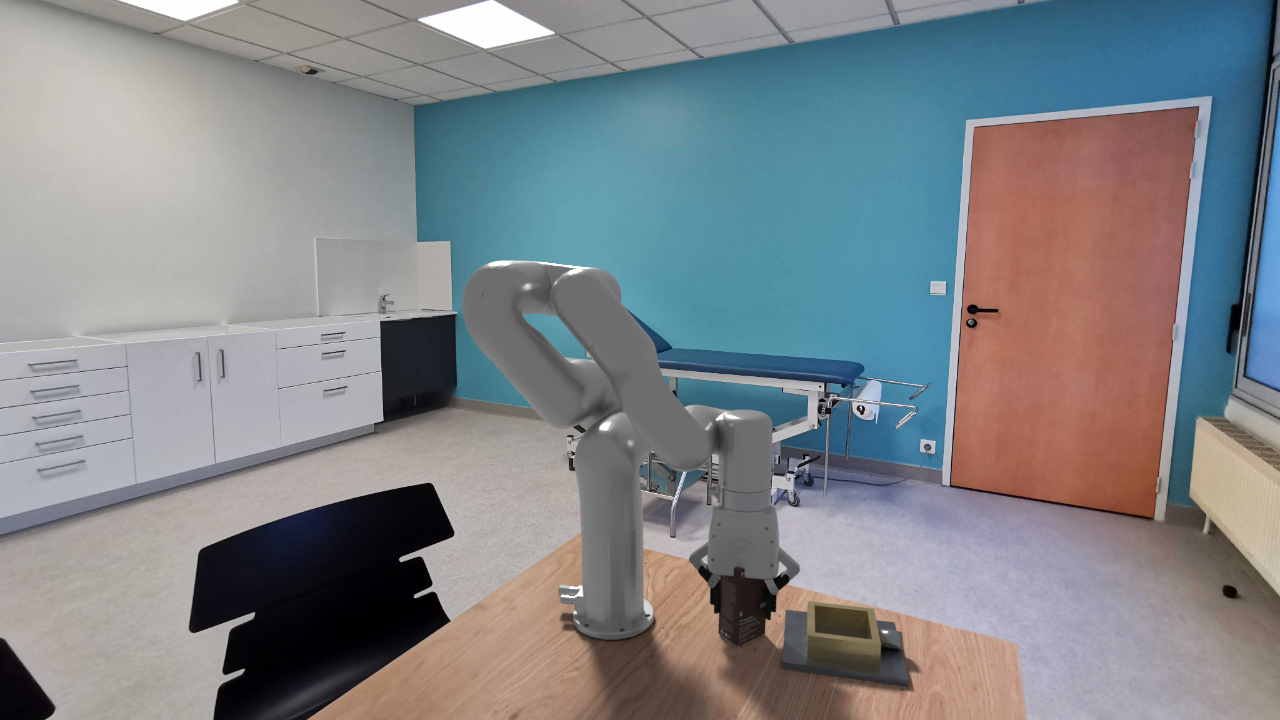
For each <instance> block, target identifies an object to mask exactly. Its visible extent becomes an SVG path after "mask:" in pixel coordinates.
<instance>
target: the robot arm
mask: <svg viewBox="0 0 1280 720" xmlns="http://www.w3.org/2000/svg"><path fill="white" fill-rule="evenodd" d="M461 307H462V309H461V310H462V318H463V320H464V325H465V328H466V329H467V332H468V334H469V336H470V337H471V339H472V340H473V342H474V344H475V345H476V346H477V347H478V348H479V349H480V350H481V352H482V353H483V354H484V355H485V356H486V357H487V358H488V360H490V361H491V362H492V364H493V365H495V367H496V368H498V370H500V372H501V373H502V374H503V375H504V376H505V378H506V379H507V380H508V381H509V382H510V384H511V385H512V386H513V388H514V389H516V391H517V392H518V393H519V394H520V395H521V396H522V397H523V399H524V400H525V401H526V402H527V403H528V404H529V405H530V407H532V409H533V410H534V411H535V412H536V413H537V414H538V416H539V417H540V418H542V420H543V421H544V422H545V423H546V424H547V425H549V426H550V427H553V428H555V429H559V430H567V429H571V428H574V427H576V426H578V425H581V426H582V428H584V429H585V431H584V433H583V434H582V435H581V437H580V438H579V440H578V441H577V445H576V447H575V451H574V452H575V453H574V469H575V470H574V471H575V475H576V476H575V477H576V481H577V487H578V495H579V513H580V516H579V517H580V538H581V541H580V542H581V545H580V546H581V548H580V549H581V579H582V581H581V584H579V585H578V586H575V585H571V584H570V585H569V584H562V583H561V584H560V585H559V587H558V592H557V593H558V597H560V598H559V603H560V604H561V605H573V607H574V609H573V611H572V622H573V625H574V626H575V627H576V629H577V630H578V632H581V633H582V634H584V635H585V636H589V637H591V638H594V639H597V640H598V639H599V640H606V641H607V640H608V641H609V640H610V641H611V640H612V641H616V640H623V639H629V638H632V637H635V636H638V635H639V634H642V633H643V632H645V631H646V630H648V629H649V628H650V626H652V623H653V622H654V619H655V618H654V617H655V611H654V608H653V605H652V604H651V603H650V601H649V600H647V599H645V597H644V595H645V593H644V591H645V590H644V587H645V585H644V583H645V581H644V580H645V579H644V576H645V575H644V573H645V572H644V571H645V570H644V513H643V512H644V509H643V507H644V506H643V495H642V488H641V481H640V471H641V470H640V469H641V466H642V464H644V461H646V459H647V458H648V457H649V455H650V454H651V452H653V453H654V455H655V456H656V457H657V458H658V459H659V460H660V461H661V462H662V463H663V464H665V465H666V466H668V467H669V468H670V469H672V470H675V471H677V472H683V473H687V472H688V473H690V472H694V471H696V470H699V469H700V468H702V467H703V466H705V465H706V463H707V462H708V461H709V460H710V458H711V456H712V455H716V456H718V483H716V484H715V485H713V486H712V485H709V486H708V490H707V493H708V494H707V495H708V496H713V498H714V497H715V499H716V501H715V502H713V504H712V507H711V513H710V518H709V526H708V537H707V538H708V539H707V542H705V543H704V544H703V545H701V546H700V547H698V548H697V549H695V550H694V551H693V552H692V553H690V554H689V558H688V560H689V562H690V564H691V565H692V566H693V567H694V569H696V570H697V573H698V574H699V576H701V578H703V580H704V581H705V582H706V584H707V585H708V588H710V589H709V604H710V605H711V606H713V614H715V615H716V614H717V615H719V602H720V577H721V575H722V576H730V577H731V576H733V575H734V567H739V568H744V569H745V578H749V579H759V580H764V581H765V583H766V585H767V592H766V620H767V621H771V620H772V613H777V595H778V594H779V591H781V590H782V589H783V588H784V587H786V586H787V585H788V584H789V583H790V581H791V580H793V579H794V578H795V577H796V576H798V574H800V571H801V565H800V563H798V562H797V561H796V560H794V559H793V557H792V556H791V555H789V554H788V553H787V551H785V550H784V549H783V548H781V547H780V529H779V522H778V521H779V520H778V515H777V508H776V506H775V504H774V503H772V476H773V475H772V471H773V470H772V469H773V421H772V419H771V417H770V416H769V415H768V414H767V413H765V412H762V411H760V410H753V409H736V410H735V409H734V410H733V409H732V410H730V409H729V410H728V409H723V408H722V409H721V408H718V407H712V406H708V405H701V404H691V405H686V406H684V405H683V404H682V402H681V401H680V400H679V399H678V397H677V396H676V395H675V394H674V392H673V390H672V389H671V388H670V386H669V384H668V383H667V381H666V380H665V377H664V375H663V373H662V371H661V370H662V369H661V367H660V364H659V358H658V353H657V349H656V348H657V347H656V346H655V343H654V341H653V340H652V338H651V337H650V335H649V334H648V332H646V330H644V329H643V327H642V326H641V325H640V324H639V322H638V321H637V320H636V319H635V317H633V315H632V314H631V312H630V311H628V310H627V308H626V307H625V306H624V305H623V303H622V290H621V286H620V284H619V282H618V281H617V279H616V278H615V277H614V276H613V275H612V274H611V273H610V272H608V271H607V270H604V269H602V268H597V267H584V266H573V265H565V264H557V263H549V262H542V261H534V260H533V261H532V260H496V261H491V262H489V263H485V264H483V265H482V266H480V267H478V268H477V269H476V270H475V271H473V273H472V274H471V275H470V276H469V278H468V280H467V282H466V284H465V286H464V289H463V295H462V301H461ZM529 314H530V315H531V314H535V315H536V314H537V315H538V314H539V315H546V316H547V315H548V316H552V317H553V316H554V317H557V318H558V319H559V320H560V321H561V323H562V324H564V326H565V327H566V328H567V330H568V331H569V332H570V333H571V334H572V336H573V337H574V338H575V339H576V341H577V342H579V344H580V345H581V346H582V347H583V349H584V350H585V351H586V352H587V354H588V355H589V356H590V357H591V358H592V361H591V360H587V359H573V360H568V359H566V357H564V356H563V355H562V354H561V353H560V351H559V350H558V349H557V348H555V347H554V345H553V344H552V342H550V340H549V339H548V338H547V337H546V336H545V335H544V334H543V333H541V331H539V330H537V329H536V328H535V326H533V325H531V323H529V322H528V321H527V320H526V319H525V318H524V315H529ZM706 556H707V557H706ZM705 557H706V559H707V560H706V561H707V563H705V562H704V560H703V558H705ZM780 563H781V564H782V565H783V566H784V567H785V568H786V569H785V570H784V571H782V572H781V573H779V568H780ZM778 574H779V575H778Z"/></svg>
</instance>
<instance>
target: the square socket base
mask: <svg viewBox="0 0 1280 720" xmlns="http://www.w3.org/2000/svg"><path fill="white" fill-rule="evenodd" d="M783 629H784V630H783V647H782V663H781V668H782V670H789V671H796V672H797V671H798V672H802V673H810V674H818V675H823V676H824V675H825V676H833V677H839V678H848V679H853V680H854V679H855V680H860V681H869V682H874V683H875V682H876V683H882V684H888V685H889V684H890V685H897V686H902V687H903V686H905V687H909V677H908V672H907V668H906V665H905V664H906V663H905V660H904V656H903V646H904V645H903V632H902V631H900V630H897V627H896V623H895V622H894V621H885V620H879V619H878V620H877V615H876V613H875V608H871V607H865V606H863V607H862V606H854V605H844V604H837V603H835V604H834V603H829V602H819V601H810V600H808V601H807V611H801V610H792V609H791V610H790V609H785V614H784V628H783Z"/></svg>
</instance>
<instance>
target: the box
mask: <svg viewBox="0 0 1280 720" xmlns="http://www.w3.org/2000/svg"><path fill="white" fill-rule="evenodd" d="M766 592H767V585H766V583H765V581H764V580H759V579H749V578H745V569H744V568H739V567H734V575H733V576H731V577H730V576H722V575H721V577H720V602H719V613H718V633H717V634H719V636H720V637H722V638H723V639H724V640H726V641H728V642H729V644H732V645H734V646H735V647H738V646H740V645H742V644H745V643H746V642H749V641H752V640H754V639H756V638H758V637H761V636H764V635H765V634H766V620H767V619H766Z"/></svg>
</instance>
